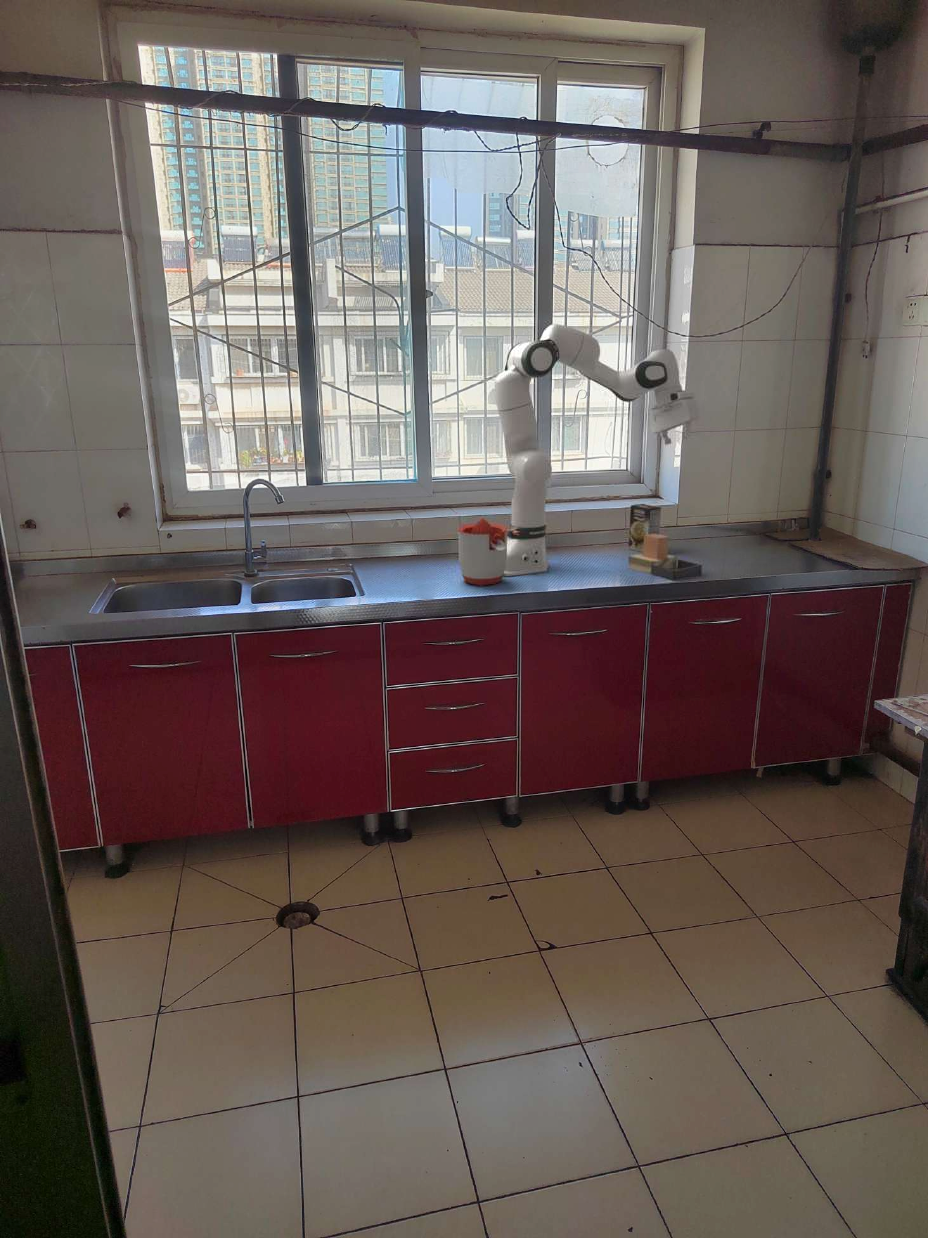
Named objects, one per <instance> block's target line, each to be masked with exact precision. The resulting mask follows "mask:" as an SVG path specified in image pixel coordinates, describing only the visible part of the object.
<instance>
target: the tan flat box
mask: <svg viewBox="0 0 928 1238" xmlns="http://www.w3.org/2000/svg"><path fill="white" fill-rule="evenodd" d="M677 563H678V556H676V555H673V554H667V558H663V559H658V560H656V559H652V558H648V557H644V556H643V552H641V553H637V554H632V555H628V564H627V569H631V570H634V569H635V570H634V571H638V572H641V571H642V573H646V574H648V575H651V565H655V566H658V567H662V568H666V569H670V568H675V567H677Z"/></svg>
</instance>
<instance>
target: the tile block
mask: <svg viewBox="0 0 928 1238" xmlns="http://www.w3.org/2000/svg"><path fill="white" fill-rule="evenodd" d="M669 540H670V539H669V536H668V535H664V534H660V533H659V534H649V535H644V546H643V552H642V553H643V556H644V557H648V558H652V559H656V560H658V559H663V558H667V554H668V553H669V551H668V550H669ZM668 555H669V554H668Z"/></svg>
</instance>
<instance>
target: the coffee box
mask: <svg viewBox="0 0 928 1238" xmlns="http://www.w3.org/2000/svg"><path fill="white" fill-rule="evenodd" d="M661 511H662V507H661V506H655V505H650V504H644V503H640V504H639V503H638V504H632V505H630V513H629V533H628V550H632V551H635V552H640V553H643V546H644V535H649V534H659V535H660V527H661V515H662V513H661Z"/></svg>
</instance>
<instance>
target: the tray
mask: <svg viewBox="0 0 928 1238" xmlns="http://www.w3.org/2000/svg"><path fill="white" fill-rule="evenodd" d="M702 566H703V565H702V564H700V563H696V562H691V561H687V560H684V559H680V558H677V564H676V567H675V568H670V569H666V568H662V567H658V566H655V565H651V574H652V575H651V574H650V575H651V576H654V575H655V576H654V577H658V576H659V577H660V578H662V579H665V578H666V579H665V580H670V581H673V580H674V581H678V580H682V579H681V578H683V579H686V577H687V578H691V577H695V575H696V576H699V574H700V575H702ZM690 576H691V577H690Z"/></svg>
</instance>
